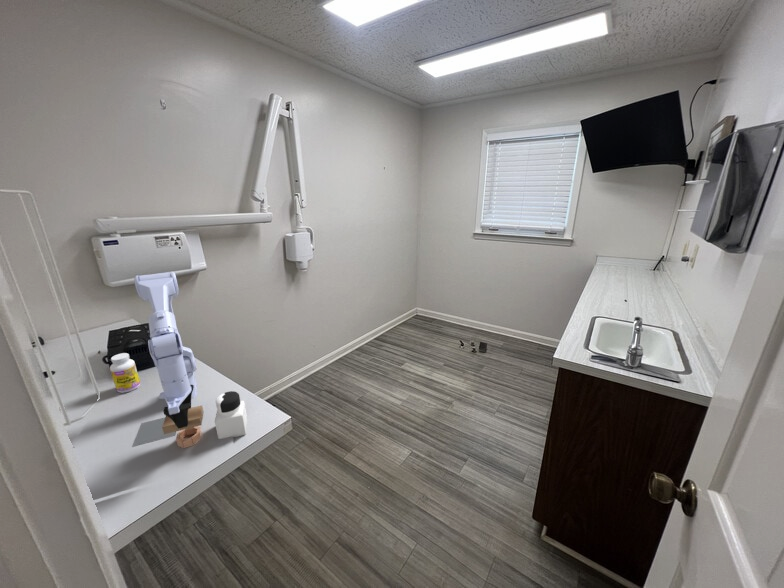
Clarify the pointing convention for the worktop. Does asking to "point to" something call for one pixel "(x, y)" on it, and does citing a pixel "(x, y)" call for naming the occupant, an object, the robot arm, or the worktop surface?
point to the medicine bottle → (230, 415)
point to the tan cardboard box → (193, 420)
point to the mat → (151, 432)
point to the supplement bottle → (124, 373)
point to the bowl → (188, 441)
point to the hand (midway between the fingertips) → (184, 419)
